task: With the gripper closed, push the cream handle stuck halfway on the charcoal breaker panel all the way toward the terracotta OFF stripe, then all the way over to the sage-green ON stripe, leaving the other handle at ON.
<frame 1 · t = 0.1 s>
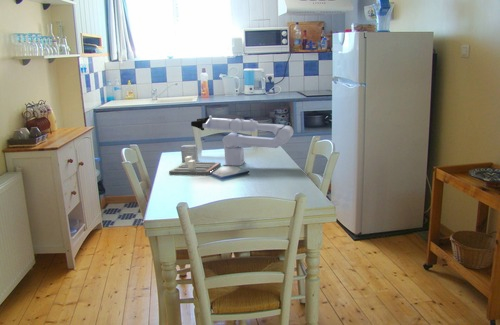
hand: (194, 122, 234), 22 cm above the table, tool horizontal, fingers open, 7 cm apart
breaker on: (188, 160, 231), point 4 cm above the table, slide at 5.0 cm
breaker panel: (195, 169, 226), on the table
breaker tripped: (191, 164, 222), point 4 cm above the table, slide at 0.0 cm
medicine box: (190, 161, 245), on the table
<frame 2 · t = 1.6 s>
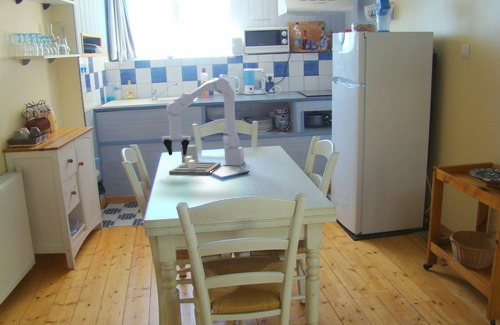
hand: (177, 155, 223), 8 cm above the table, tool pointing down, fingers open, 7 cm apart
nothing on the table moved.
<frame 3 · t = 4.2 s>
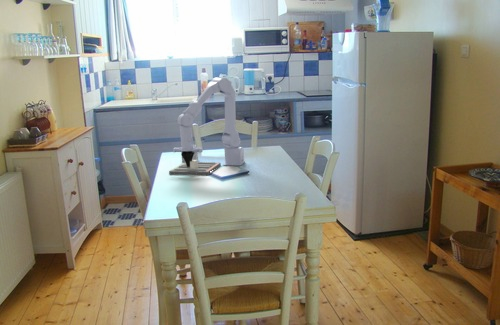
hand: (189, 166, 222), 3 cm above the table, tool pointing down, fingers closed
breaker tripped: (194, 164, 222), point 4 cm above the table, slide at -1.1 cm, touching gripper
everything else where it was.
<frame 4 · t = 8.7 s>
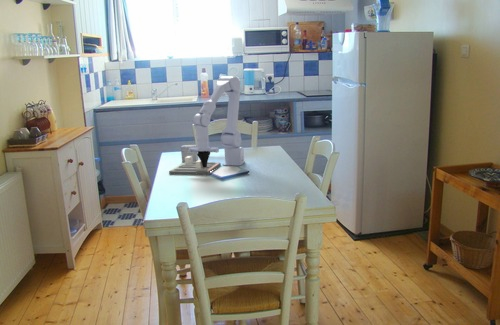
hand: (204, 166, 220), 3 cm above the table, tool pointing down, fingers closed
breaker tripped: (199, 164, 221), point 4 cm above the table, slide at -4.0 cm, touching gripper
everything else where it was.
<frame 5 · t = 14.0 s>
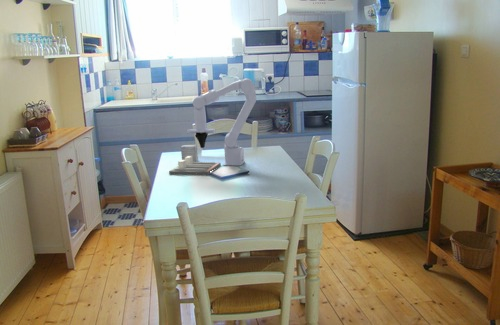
hand: (202, 147, 232), 9 cm above the table, tool pointing down, fingers closed
breaker tripped: (182, 164, 223), point 4 cm above the table, slide at 5.1 cm
everything else where it was.
at the end: breaker tripped slide at 5.1 cm; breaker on slide at 5.0 cm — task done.
